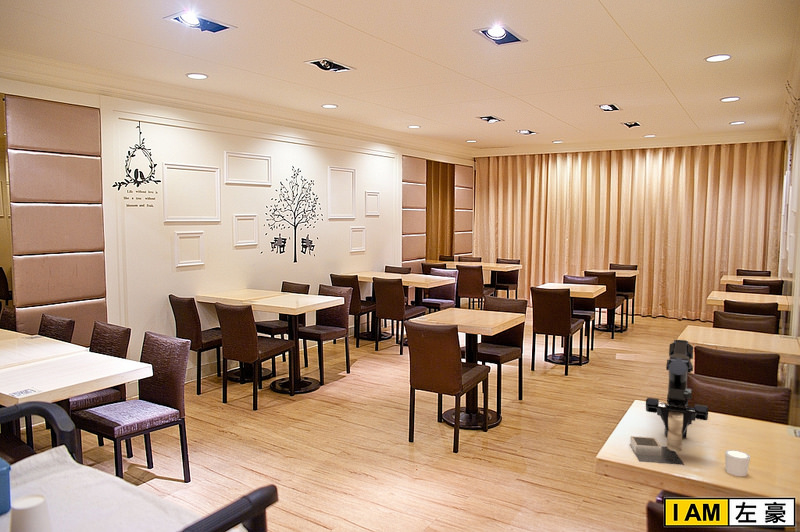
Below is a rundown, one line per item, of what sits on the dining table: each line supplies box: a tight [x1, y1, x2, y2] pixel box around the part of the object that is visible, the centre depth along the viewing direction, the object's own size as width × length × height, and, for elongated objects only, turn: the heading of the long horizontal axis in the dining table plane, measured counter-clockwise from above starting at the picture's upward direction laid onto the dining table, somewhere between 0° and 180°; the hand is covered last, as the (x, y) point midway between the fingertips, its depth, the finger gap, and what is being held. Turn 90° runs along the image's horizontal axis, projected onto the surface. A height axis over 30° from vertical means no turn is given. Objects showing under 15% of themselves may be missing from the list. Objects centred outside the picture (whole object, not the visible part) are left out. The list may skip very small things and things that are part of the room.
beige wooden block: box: [666, 411, 683, 452], centre depth 184 cm, size 4×4×12 cm
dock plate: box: [629, 435, 685, 466], centre depth 190 cm, size 14×14×4 cm
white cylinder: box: [724, 449, 751, 478], centre depth 177 cm, size 7×7×7 cm
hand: (674, 432), depth 183 cm, fingers closed on beige wooden block, 4 cm apart
